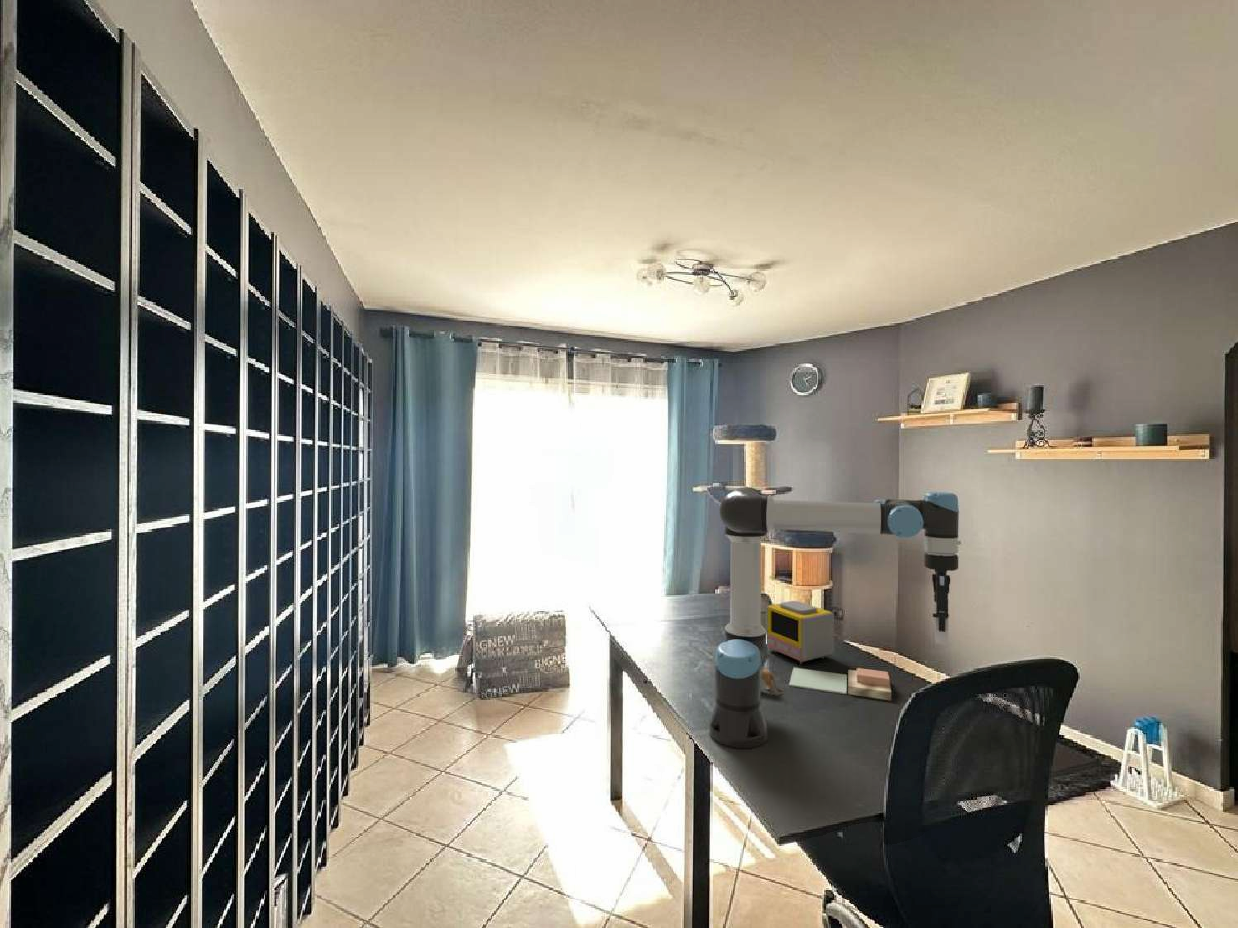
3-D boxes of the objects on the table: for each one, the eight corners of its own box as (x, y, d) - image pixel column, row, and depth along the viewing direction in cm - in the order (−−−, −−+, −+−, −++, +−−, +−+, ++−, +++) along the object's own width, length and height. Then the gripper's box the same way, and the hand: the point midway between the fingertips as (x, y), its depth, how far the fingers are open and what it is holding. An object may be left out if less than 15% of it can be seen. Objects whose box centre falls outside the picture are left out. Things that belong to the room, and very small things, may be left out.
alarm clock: (763, 650, 212) (763, 601, 212) (795, 643, 219) (795, 596, 219) (802, 668, 195) (802, 615, 194) (835, 659, 202) (835, 608, 201)
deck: (848, 694, 174) (848, 686, 174) (848, 676, 187) (848, 669, 187) (891, 700, 169) (891, 692, 169) (888, 682, 182) (888, 674, 182)
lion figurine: (732, 688, 178) (732, 660, 178) (736, 682, 183) (736, 655, 183) (780, 696, 172) (780, 667, 172) (783, 690, 177) (783, 661, 177)
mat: (789, 685, 180) (789, 684, 180) (793, 668, 194) (793, 667, 194) (846, 694, 173) (846, 692, 173) (846, 676, 187) (846, 674, 187)
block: (856, 682, 176) (856, 674, 176) (856, 675, 182) (856, 667, 182) (888, 686, 173) (888, 678, 173) (887, 679, 178) (887, 671, 178)
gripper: (961, 563, 131) (961, 653, 131) (955, 546, 153) (954, 623, 153) (924, 560, 134) (924, 648, 135) (924, 544, 156) (923, 620, 157)
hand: (940, 635), depth 144 cm, fingers open, 13 cm apart
